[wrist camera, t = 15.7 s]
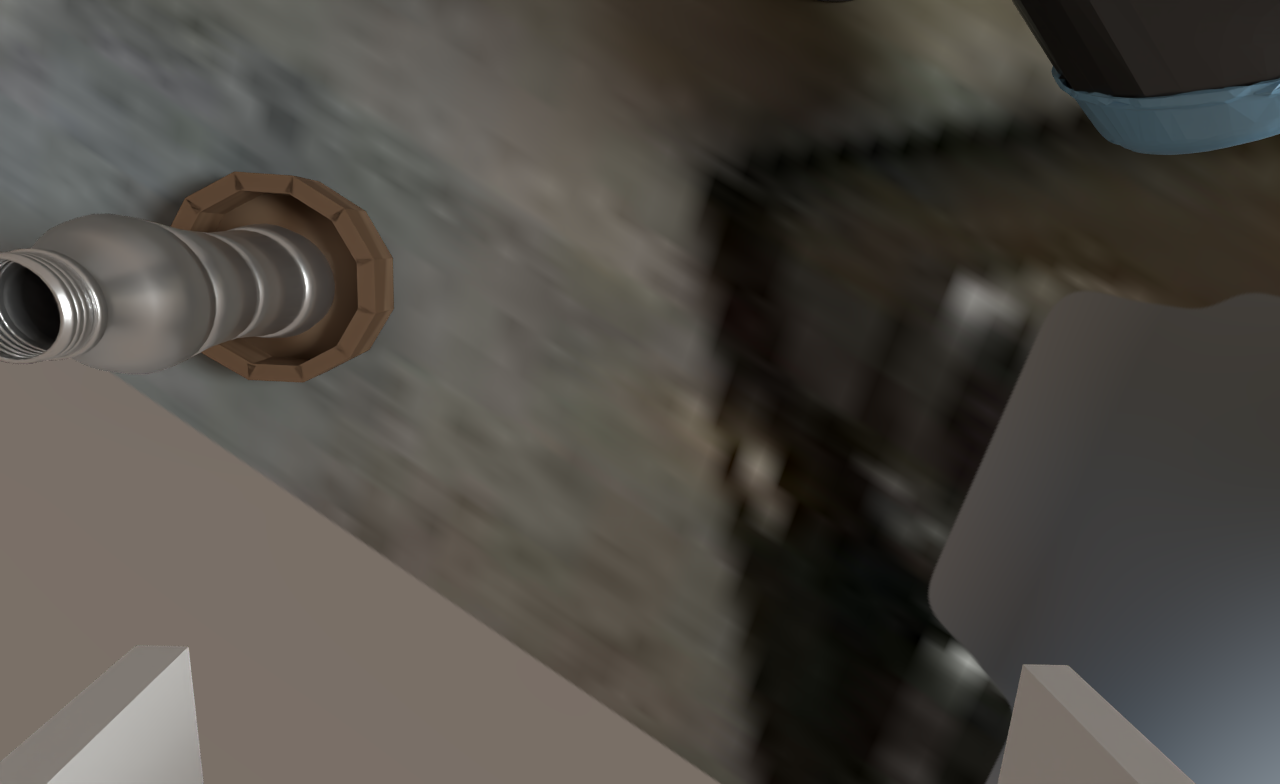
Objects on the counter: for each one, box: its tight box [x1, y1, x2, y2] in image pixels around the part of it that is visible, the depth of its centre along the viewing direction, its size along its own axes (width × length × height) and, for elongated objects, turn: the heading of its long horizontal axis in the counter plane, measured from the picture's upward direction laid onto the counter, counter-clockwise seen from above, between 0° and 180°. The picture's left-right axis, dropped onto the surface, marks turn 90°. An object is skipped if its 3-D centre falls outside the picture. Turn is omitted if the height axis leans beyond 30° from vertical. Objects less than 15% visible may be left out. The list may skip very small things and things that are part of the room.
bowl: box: [171, 172, 394, 382], centre depth 40 cm, size 12×12×4 cm
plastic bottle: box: [0, 214, 335, 374], centre depth 31 cm, size 6×7×20 cm
